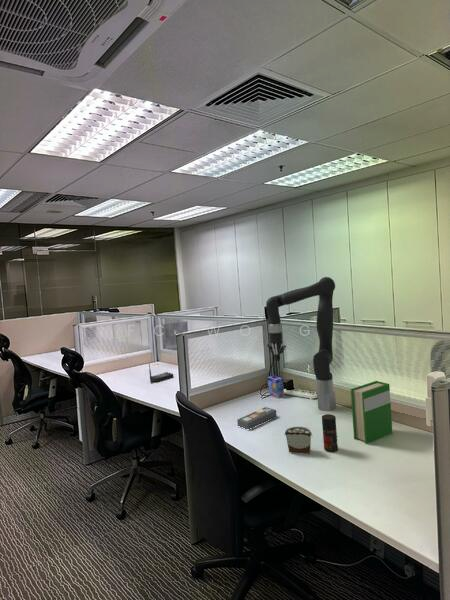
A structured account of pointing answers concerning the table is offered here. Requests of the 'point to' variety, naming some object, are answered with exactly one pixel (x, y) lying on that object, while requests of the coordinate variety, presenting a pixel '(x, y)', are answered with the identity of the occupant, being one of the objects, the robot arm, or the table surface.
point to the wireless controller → (160, 377)
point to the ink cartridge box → (275, 386)
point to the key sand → (260, 412)
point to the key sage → (247, 419)
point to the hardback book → (371, 411)
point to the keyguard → (256, 419)
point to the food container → (298, 440)
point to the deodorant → (329, 433)
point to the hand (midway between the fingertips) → (277, 360)
